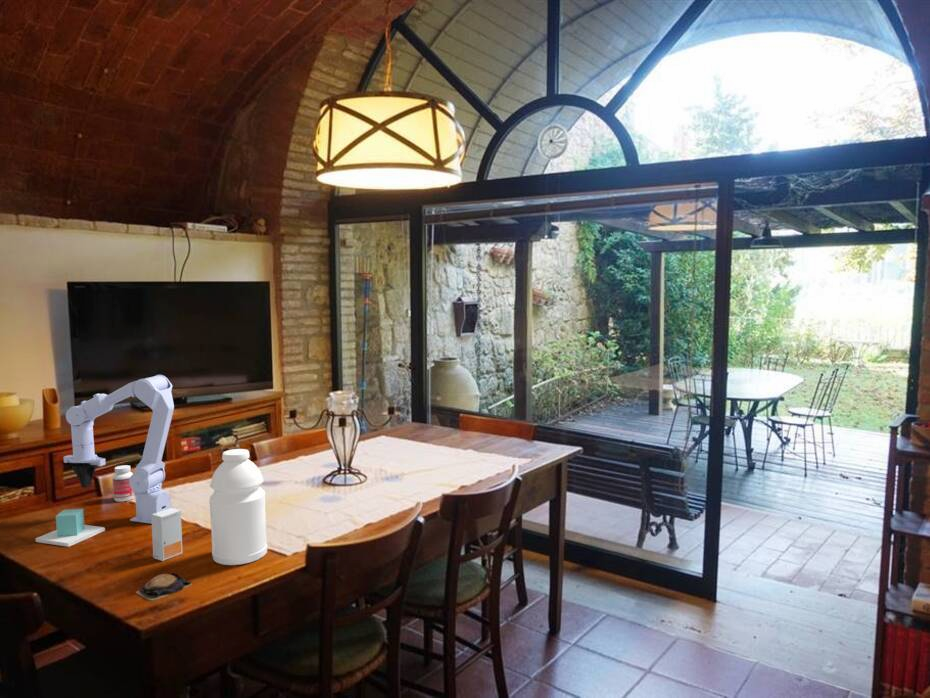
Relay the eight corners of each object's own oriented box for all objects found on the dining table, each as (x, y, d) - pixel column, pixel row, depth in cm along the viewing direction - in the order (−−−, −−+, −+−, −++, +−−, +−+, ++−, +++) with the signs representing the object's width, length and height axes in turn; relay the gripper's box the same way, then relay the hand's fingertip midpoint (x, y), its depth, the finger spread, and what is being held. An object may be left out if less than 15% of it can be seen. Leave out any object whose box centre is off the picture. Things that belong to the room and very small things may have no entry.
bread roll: (151, 605, 146) (150, 589, 146) (133, 594, 151) (132, 579, 151) (195, 587, 155) (194, 572, 154) (176, 577, 160) (175, 563, 159)
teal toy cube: (84, 528, 188) (83, 508, 188) (77, 535, 183) (75, 514, 183) (64, 529, 187) (63, 509, 187) (57, 536, 182) (55, 516, 182)
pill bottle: (135, 499, 216) (133, 467, 215) (115, 503, 213) (112, 470, 212) (133, 494, 221) (131, 463, 220) (113, 498, 218) (111, 466, 217)
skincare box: (162, 561, 168) (160, 517, 166) (152, 558, 170) (150, 514, 169) (183, 553, 173) (181, 510, 172) (174, 550, 175) (171, 507, 174)
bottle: (225, 544, 179) (220, 444, 176) (274, 544, 178) (270, 444, 175) (203, 566, 165) (197, 458, 162) (256, 566, 164) (252, 459, 161)
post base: (104, 530, 189) (103, 512, 189) (68, 546, 178) (67, 527, 177) (73, 526, 193) (71, 508, 192) (35, 541, 181) (34, 522, 181)
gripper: (112, 442, 201) (115, 484, 202) (76, 439, 205) (79, 480, 206) (93, 447, 194) (96, 491, 195) (56, 444, 198) (59, 487, 200)
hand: (86, 486), depth 200 cm, fingers closed
